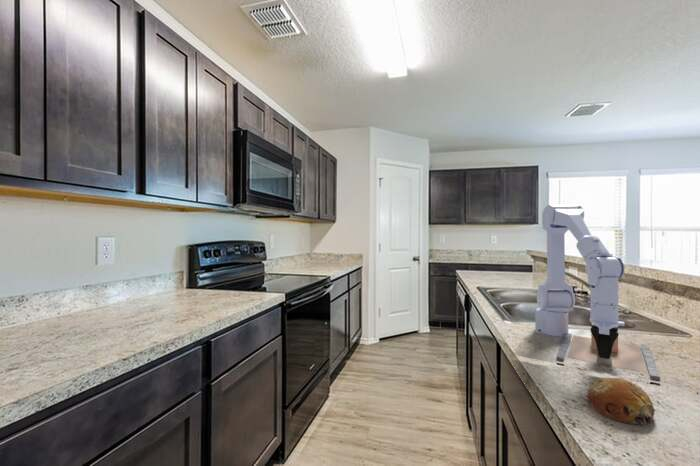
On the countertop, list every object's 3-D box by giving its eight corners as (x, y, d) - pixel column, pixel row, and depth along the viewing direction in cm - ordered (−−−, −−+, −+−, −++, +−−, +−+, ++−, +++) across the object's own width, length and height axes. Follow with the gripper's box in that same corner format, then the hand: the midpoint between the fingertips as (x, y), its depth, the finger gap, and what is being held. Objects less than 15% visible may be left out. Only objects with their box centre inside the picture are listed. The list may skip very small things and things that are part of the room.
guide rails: (556, 364, 87) (556, 356, 87) (565, 339, 108) (565, 332, 108) (660, 385, 75) (660, 376, 75) (648, 352, 95) (648, 345, 95)
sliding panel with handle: (566, 361, 89) (566, 338, 89) (573, 338, 108) (573, 320, 108) (646, 377, 79) (646, 351, 79) (638, 348, 98) (638, 328, 98)
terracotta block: (591, 348, 96) (591, 327, 96) (592, 342, 101) (592, 322, 101) (618, 352, 92) (618, 331, 92) (617, 346, 97) (617, 326, 97)
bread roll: (643, 426, 66) (635, 382, 69) (671, 430, 57) (660, 380, 60) (585, 417, 69) (579, 375, 72) (602, 419, 60) (595, 372, 63)
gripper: (625, 310, 77) (625, 368, 77) (623, 300, 89) (623, 351, 89) (588, 306, 81) (588, 361, 81) (590, 297, 93) (590, 345, 93)
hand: (604, 355), depth 85 cm, fingers closed on sliding panel with handle, 3 cm apart
